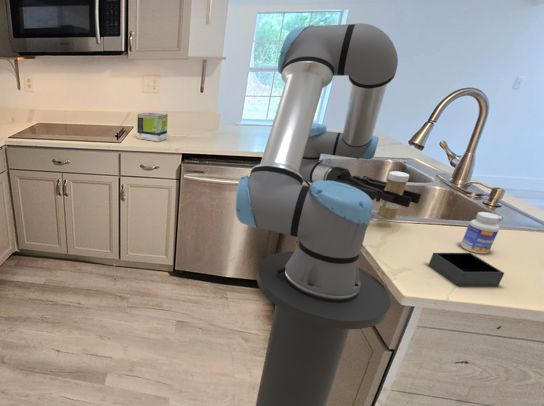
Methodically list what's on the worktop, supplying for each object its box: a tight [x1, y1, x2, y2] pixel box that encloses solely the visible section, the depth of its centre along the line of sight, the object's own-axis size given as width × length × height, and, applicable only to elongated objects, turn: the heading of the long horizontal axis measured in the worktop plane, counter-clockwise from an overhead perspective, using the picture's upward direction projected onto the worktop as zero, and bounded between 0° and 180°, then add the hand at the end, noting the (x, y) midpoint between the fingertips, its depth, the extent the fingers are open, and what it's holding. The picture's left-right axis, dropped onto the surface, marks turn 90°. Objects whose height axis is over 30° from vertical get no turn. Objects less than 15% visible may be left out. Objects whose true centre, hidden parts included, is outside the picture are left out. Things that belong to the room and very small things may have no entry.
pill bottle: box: [460, 211, 501, 254], centre depth 93 cm, size 5×5×10 cm
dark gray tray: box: [428, 252, 505, 287], centre depth 84 cm, size 8×8×4 cm
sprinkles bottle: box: [376, 170, 410, 220], centre depth 105 cm, size 5×5×13 cm
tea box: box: [136, 111, 169, 142], centre depth 213 cm, size 15×10×15 cm
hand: (414, 200), depth 100 cm, fingers closed on sprinkles bottle, 4 cm apart
